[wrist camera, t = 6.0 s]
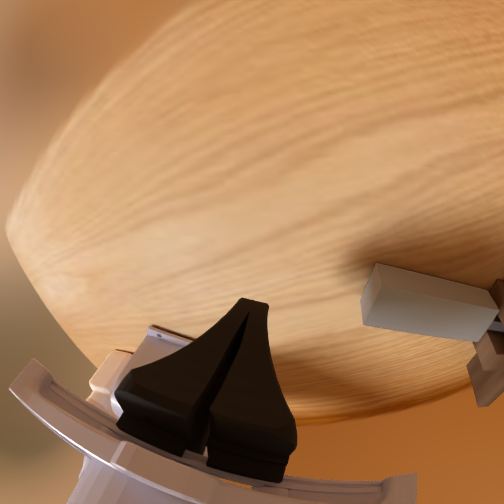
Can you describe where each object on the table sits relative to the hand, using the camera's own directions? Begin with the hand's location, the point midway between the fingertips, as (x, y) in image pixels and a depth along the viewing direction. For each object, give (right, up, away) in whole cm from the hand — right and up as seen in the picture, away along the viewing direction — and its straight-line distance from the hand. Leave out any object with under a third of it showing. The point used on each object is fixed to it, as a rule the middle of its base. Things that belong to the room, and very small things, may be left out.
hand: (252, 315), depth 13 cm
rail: (+14, 0, +2) cm, 14 cm away
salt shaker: (-15, -10, +17) cm, 25 cm away
